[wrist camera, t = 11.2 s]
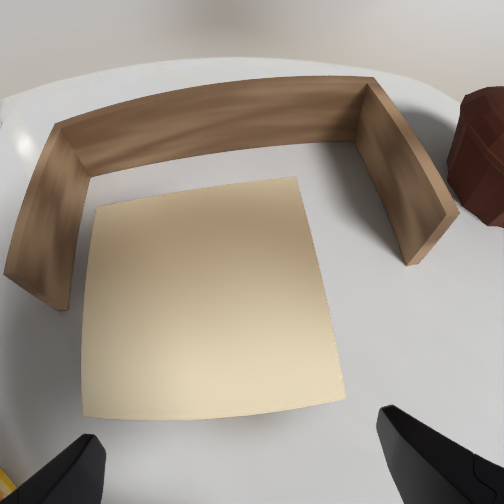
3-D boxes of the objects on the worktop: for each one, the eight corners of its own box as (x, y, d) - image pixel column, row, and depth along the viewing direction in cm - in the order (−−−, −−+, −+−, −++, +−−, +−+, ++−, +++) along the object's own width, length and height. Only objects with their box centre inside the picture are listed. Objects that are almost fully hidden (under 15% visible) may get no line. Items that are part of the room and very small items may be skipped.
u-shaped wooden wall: (418, 263, 19) (459, 213, 14) (57, 310, 18) (3, 274, 13) (360, 132, 25) (373, 77, 20) (83, 171, 25) (54, 123, 19)
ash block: (292, 404, 15) (345, 398, 5) (201, 414, 15) (83, 416, 5) (279, 319, 18) (295, 176, 7) (193, 329, 18) (96, 206, 7)
